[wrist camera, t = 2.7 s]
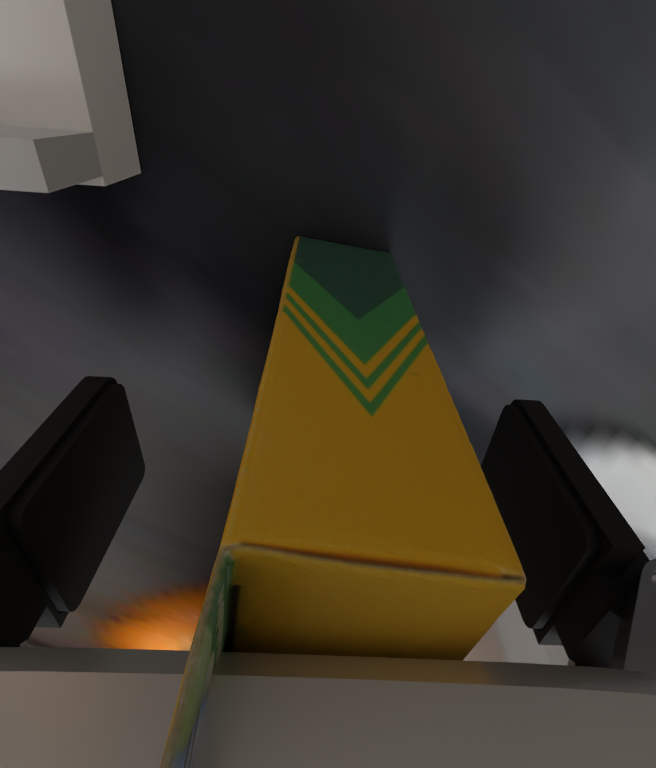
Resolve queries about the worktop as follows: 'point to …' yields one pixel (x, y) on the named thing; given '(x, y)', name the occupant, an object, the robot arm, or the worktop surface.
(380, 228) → the worktop surface
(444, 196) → the worktop surface
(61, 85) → the white divided tray
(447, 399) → the crayon box
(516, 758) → the robot arm
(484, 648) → the container
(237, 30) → the worktop surface
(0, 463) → the worktop surface
